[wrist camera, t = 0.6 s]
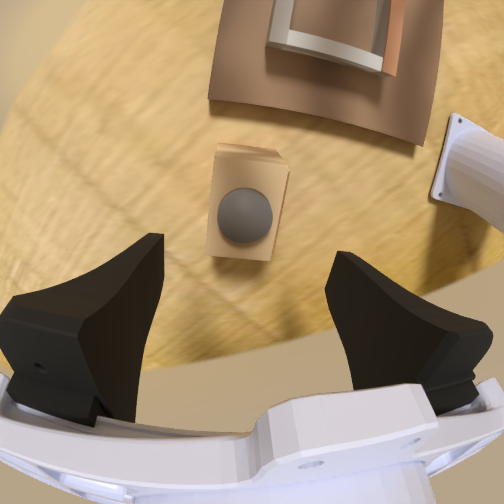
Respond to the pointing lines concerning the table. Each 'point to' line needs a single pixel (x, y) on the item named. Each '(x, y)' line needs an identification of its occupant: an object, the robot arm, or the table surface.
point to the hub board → (333, 60)
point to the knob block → (245, 202)
